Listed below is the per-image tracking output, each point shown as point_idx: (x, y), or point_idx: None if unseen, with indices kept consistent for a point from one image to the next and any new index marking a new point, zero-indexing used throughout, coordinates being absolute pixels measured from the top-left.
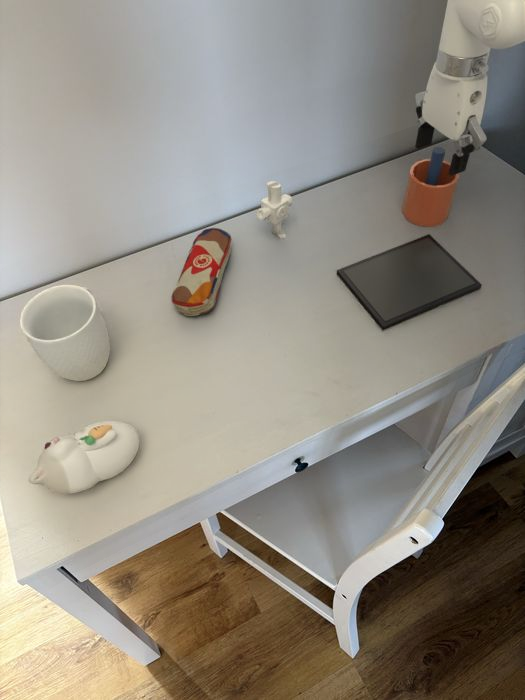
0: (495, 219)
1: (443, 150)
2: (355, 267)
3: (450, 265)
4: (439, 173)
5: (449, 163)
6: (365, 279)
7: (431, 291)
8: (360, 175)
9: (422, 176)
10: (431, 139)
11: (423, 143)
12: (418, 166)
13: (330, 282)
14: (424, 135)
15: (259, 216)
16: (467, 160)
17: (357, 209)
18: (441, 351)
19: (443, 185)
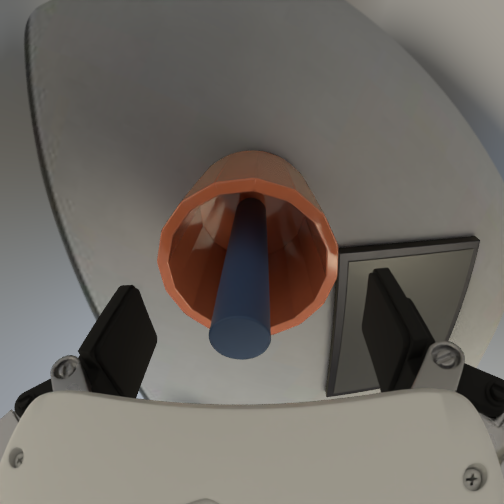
0: (352, 66)
1: (251, 328)
2: (338, 382)
3: (428, 263)
4: (266, 266)
5: (212, 188)
6: (366, 378)
7: (441, 315)
8: (89, 273)
9: (184, 233)
10: (129, 305)
11: (144, 332)
12: (178, 280)
13: (333, 397)
14: (133, 363)
15: None
16: (425, 326)
17: (191, 323)
18: (485, 328)
19: (328, 280)
